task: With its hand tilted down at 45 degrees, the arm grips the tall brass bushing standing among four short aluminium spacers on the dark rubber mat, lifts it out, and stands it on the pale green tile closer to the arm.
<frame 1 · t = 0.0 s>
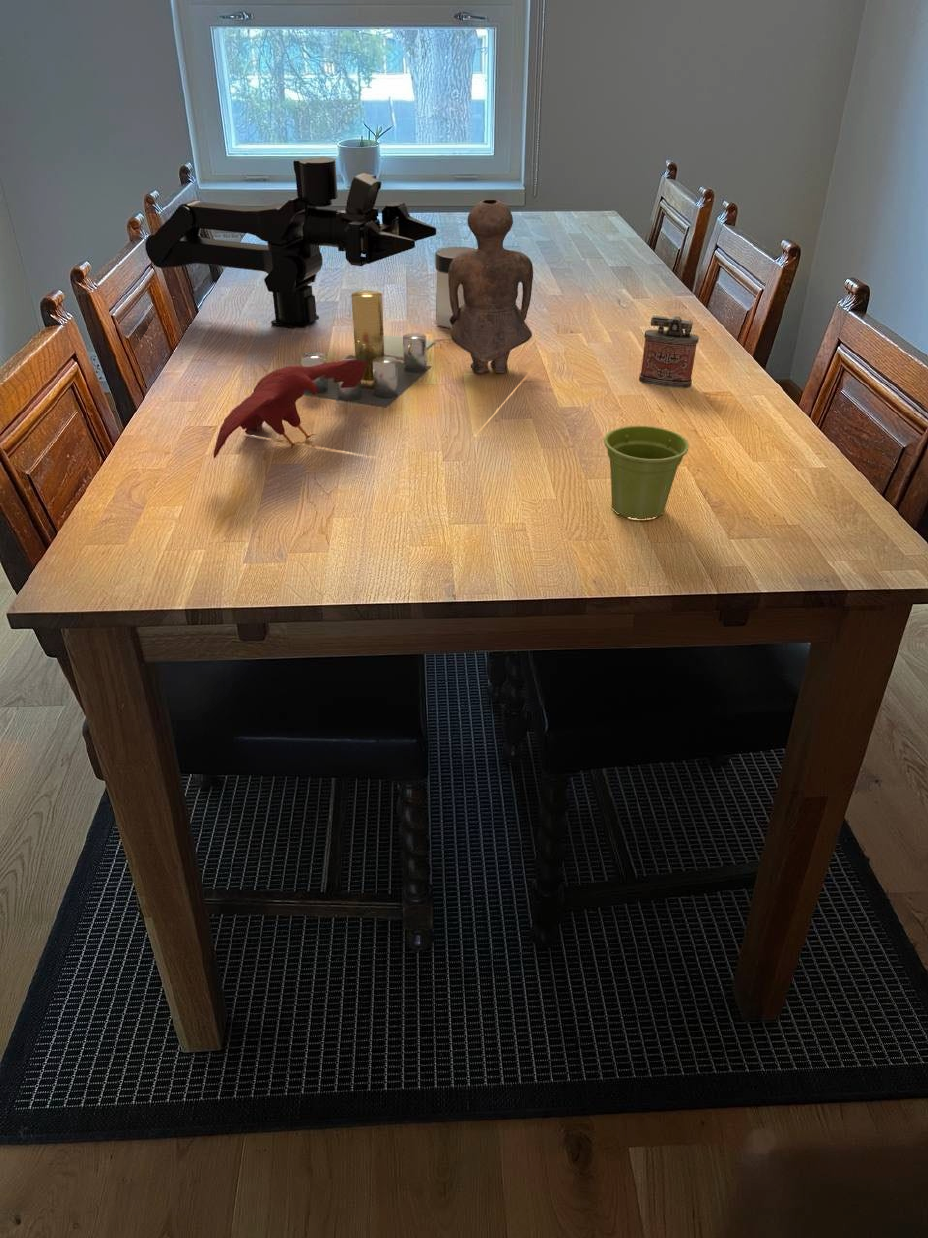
hand: (425, 237, 147), 17 cm above the table, tool horizontal, fingers open, 9 cm apart
mat: (367, 381, 140), on the table
tile: (399, 349, 152), on the table
jar: (458, 322, 165), on the table
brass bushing: (371, 381, 140), resting on mat
lighter: (664, 383, 141), on the table
clay figurine: (489, 371, 145), on the table
spacers: (366, 379, 140), resting on mat
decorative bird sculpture: (286, 442, 123), on the table
plant pot: (637, 511, 108), on the table
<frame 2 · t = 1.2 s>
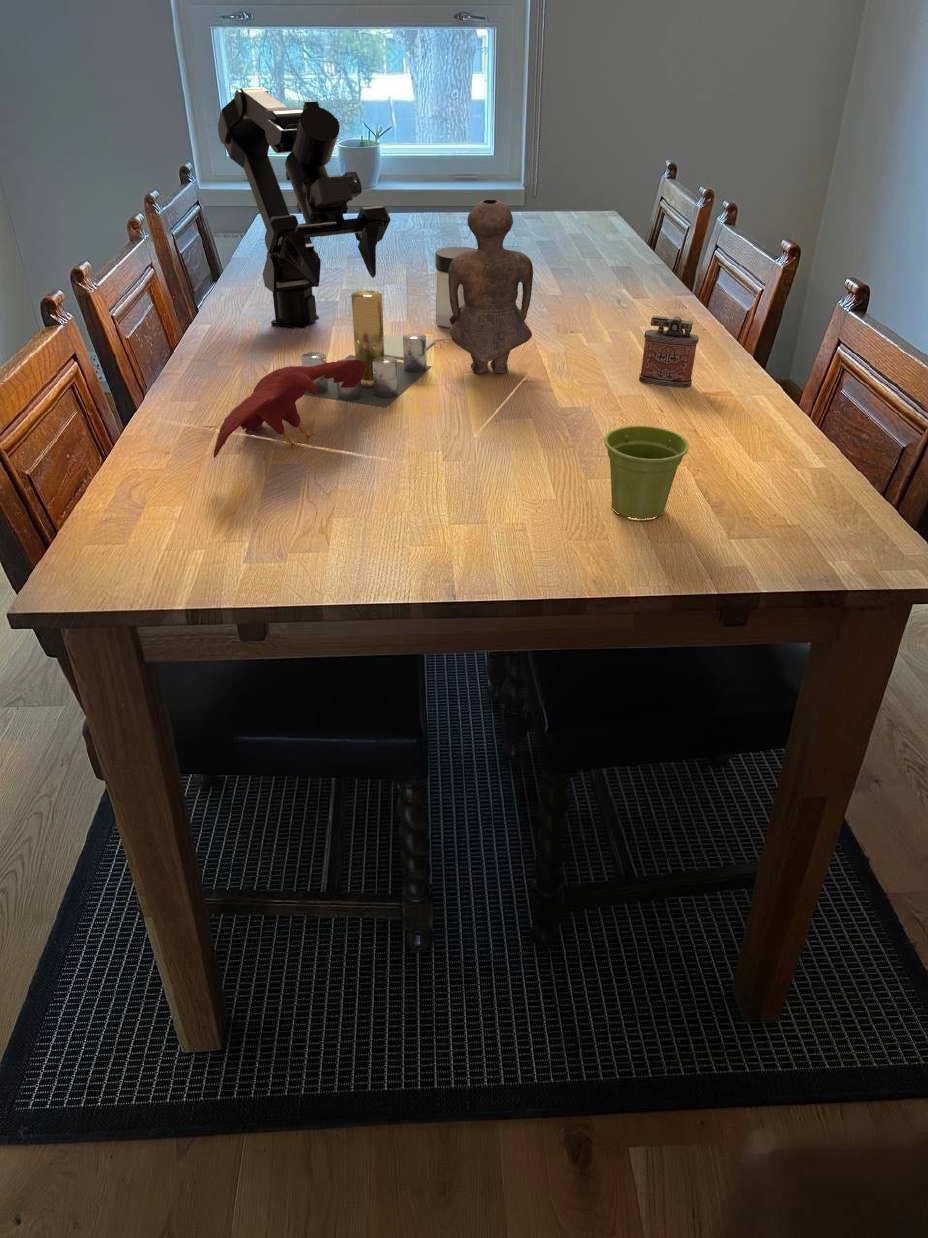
hand: (346, 279, 138), 13 cm above the table, tool tilted 45°, fingers open, 9 cm apart
nothing on the table moved.
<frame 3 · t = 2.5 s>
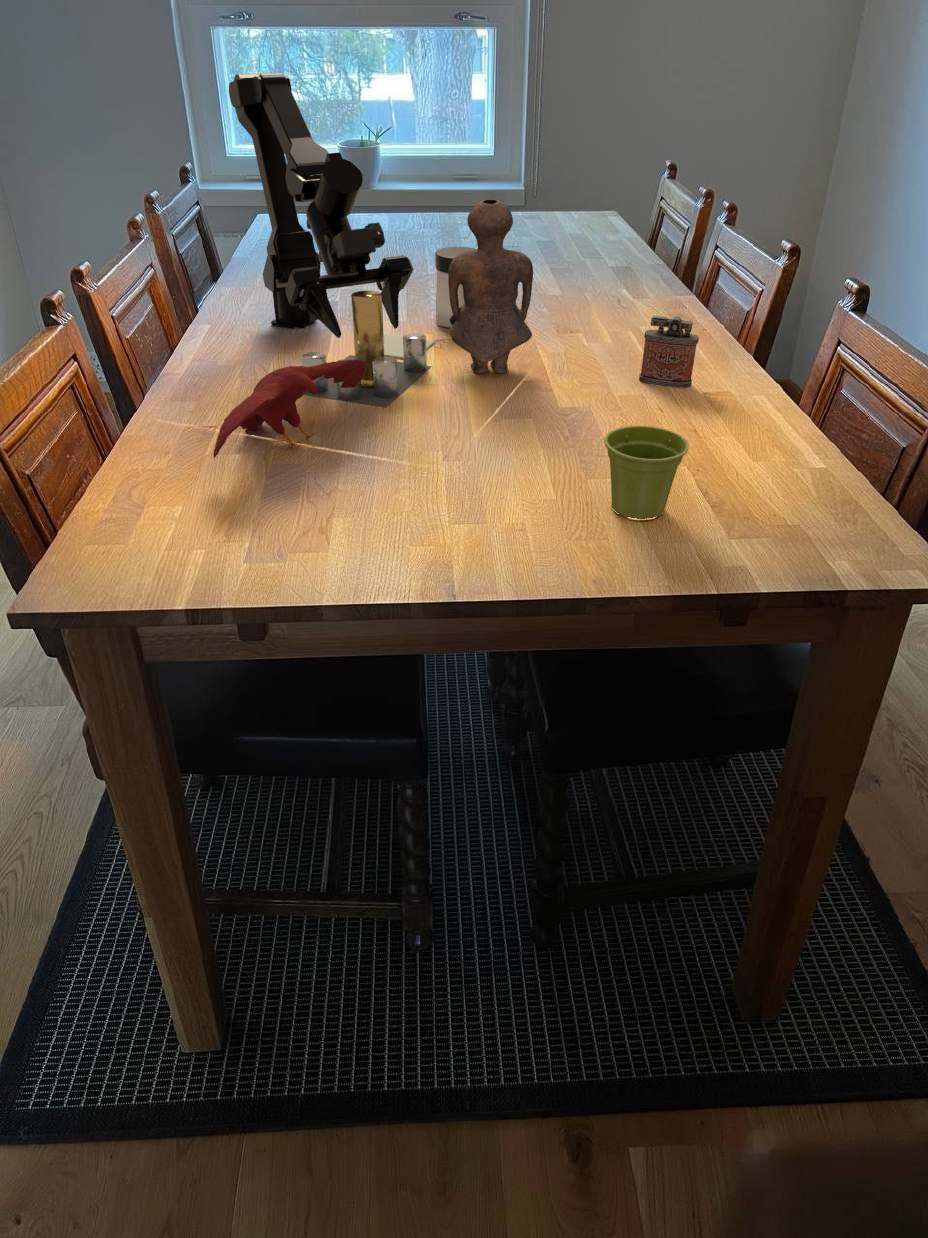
hand: (368, 331, 135), 8 cm above the table, tool tilted 45°, fingers open, 9 cm apart
nothing on the table moved.
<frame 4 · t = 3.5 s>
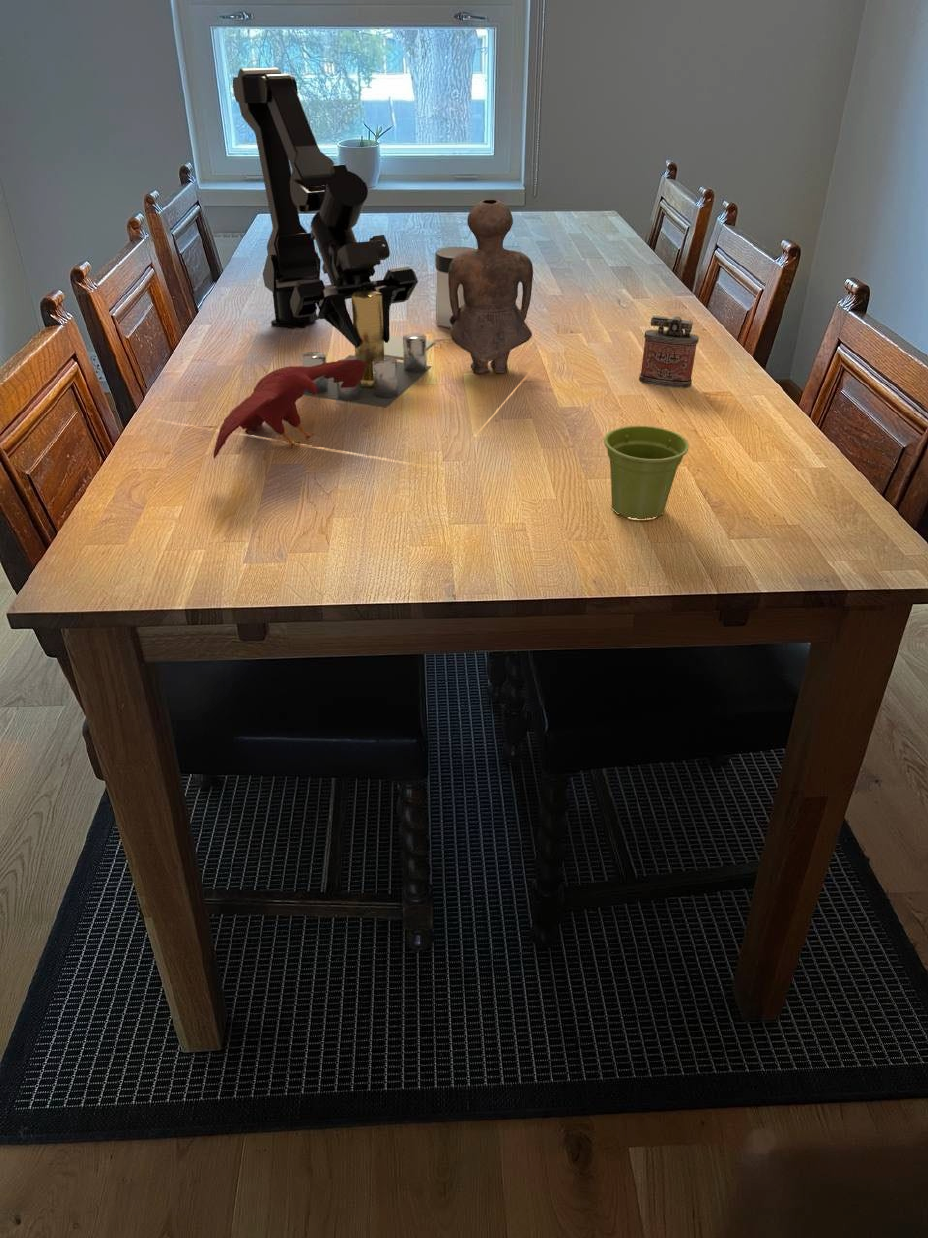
hand: (372, 343, 135), 7 cm above the table, tool tilted 45°, fingers closed on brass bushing, 4 cm apart
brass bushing: (371, 381, 140), resting on mat, touching gripper
everything else where it was.
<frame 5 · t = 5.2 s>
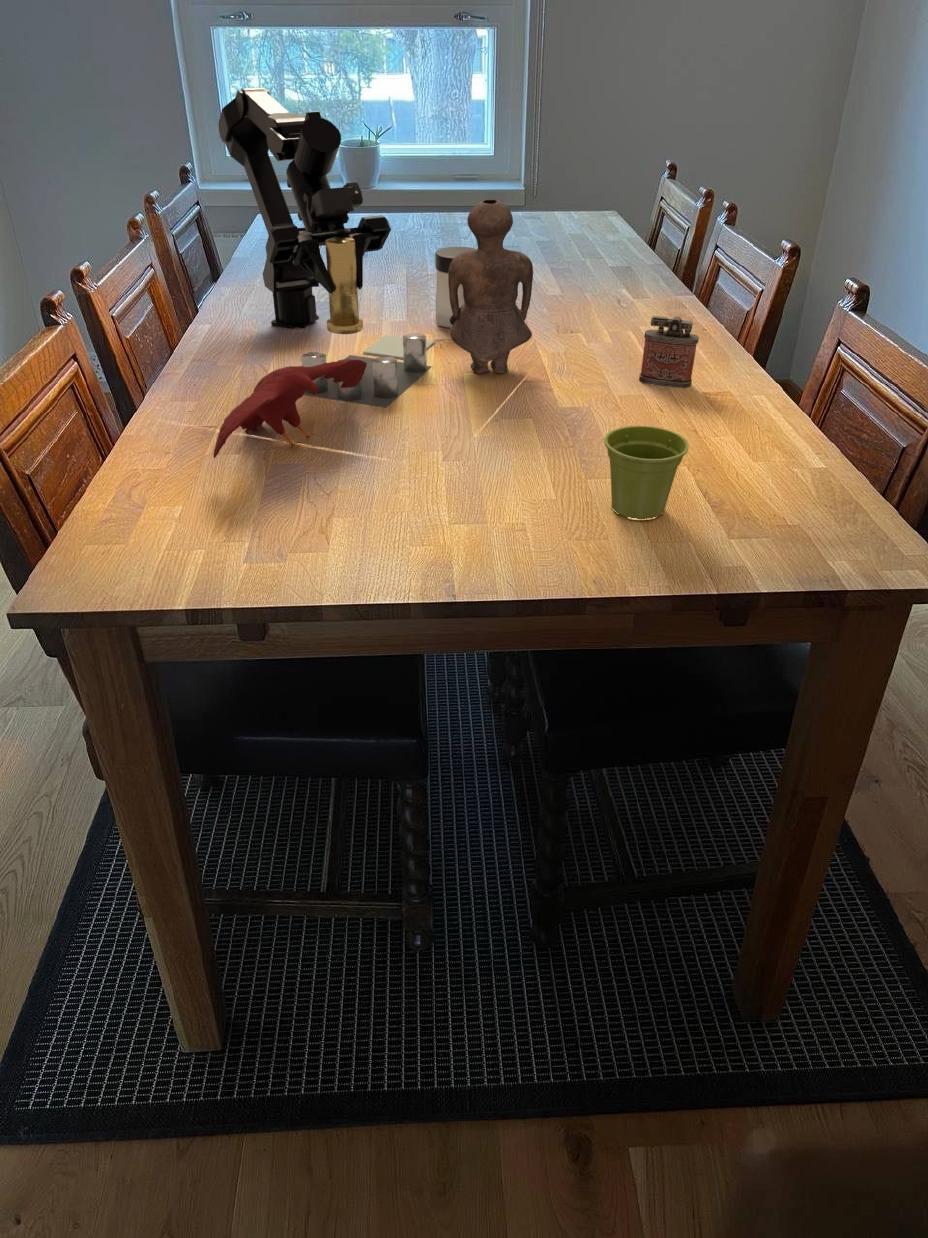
hand: (346, 289, 138), 12 cm above the table, tool tilted 45°, fingers closed on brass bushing, 4 cm apart
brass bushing: (345, 327, 143), point 6 cm above the table, touching gripper
everything else where it was.
when the fingers open (8 cm above the table, at t = 7.0 s): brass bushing drops 1 cm, resting on tile.
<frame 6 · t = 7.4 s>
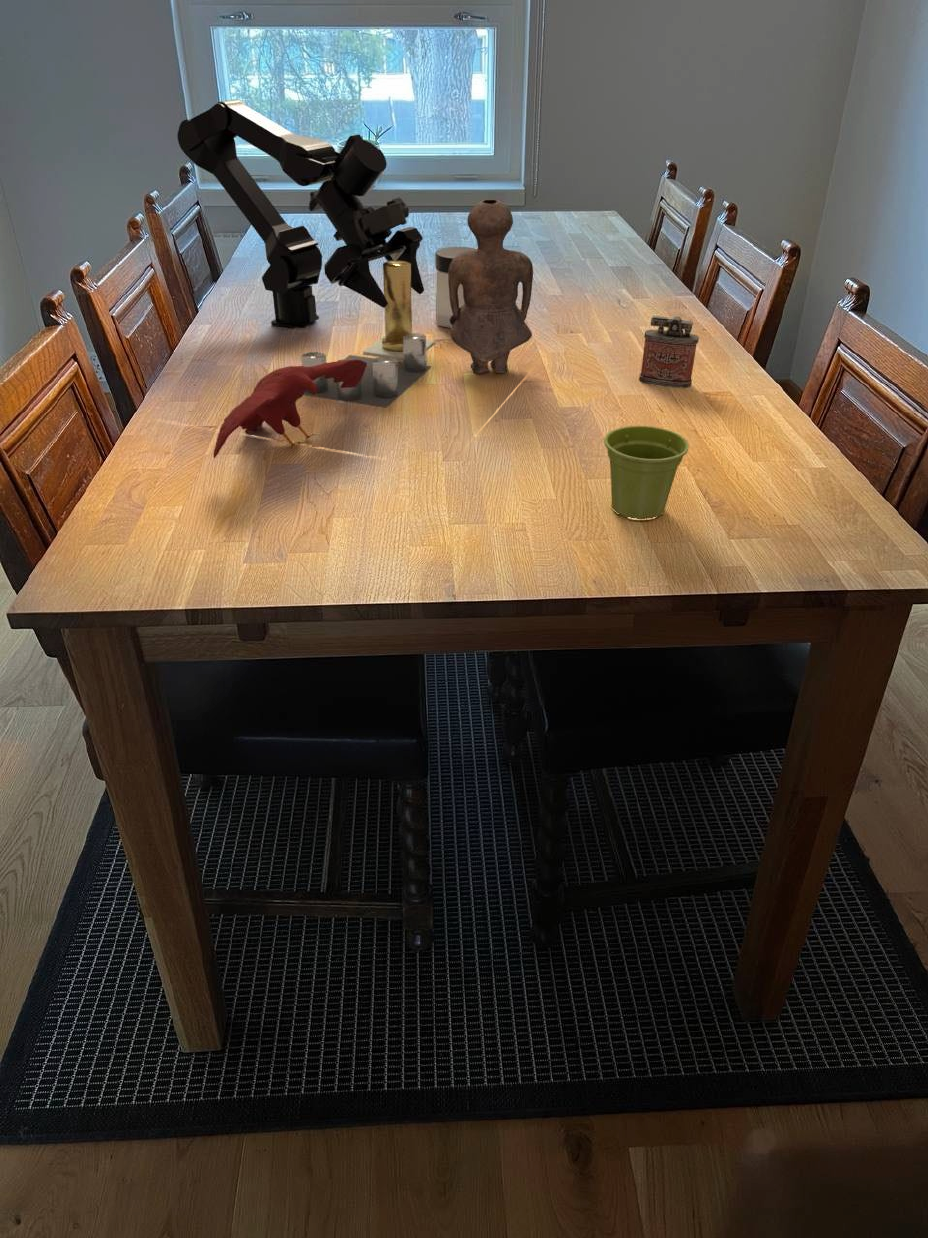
hand: (404, 298, 147), 9 cm above the table, tool tilted 45°, fingers open, 9 cm apart
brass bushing: (399, 345, 152), point 1 cm above the table, touching tile
everything else where it was.
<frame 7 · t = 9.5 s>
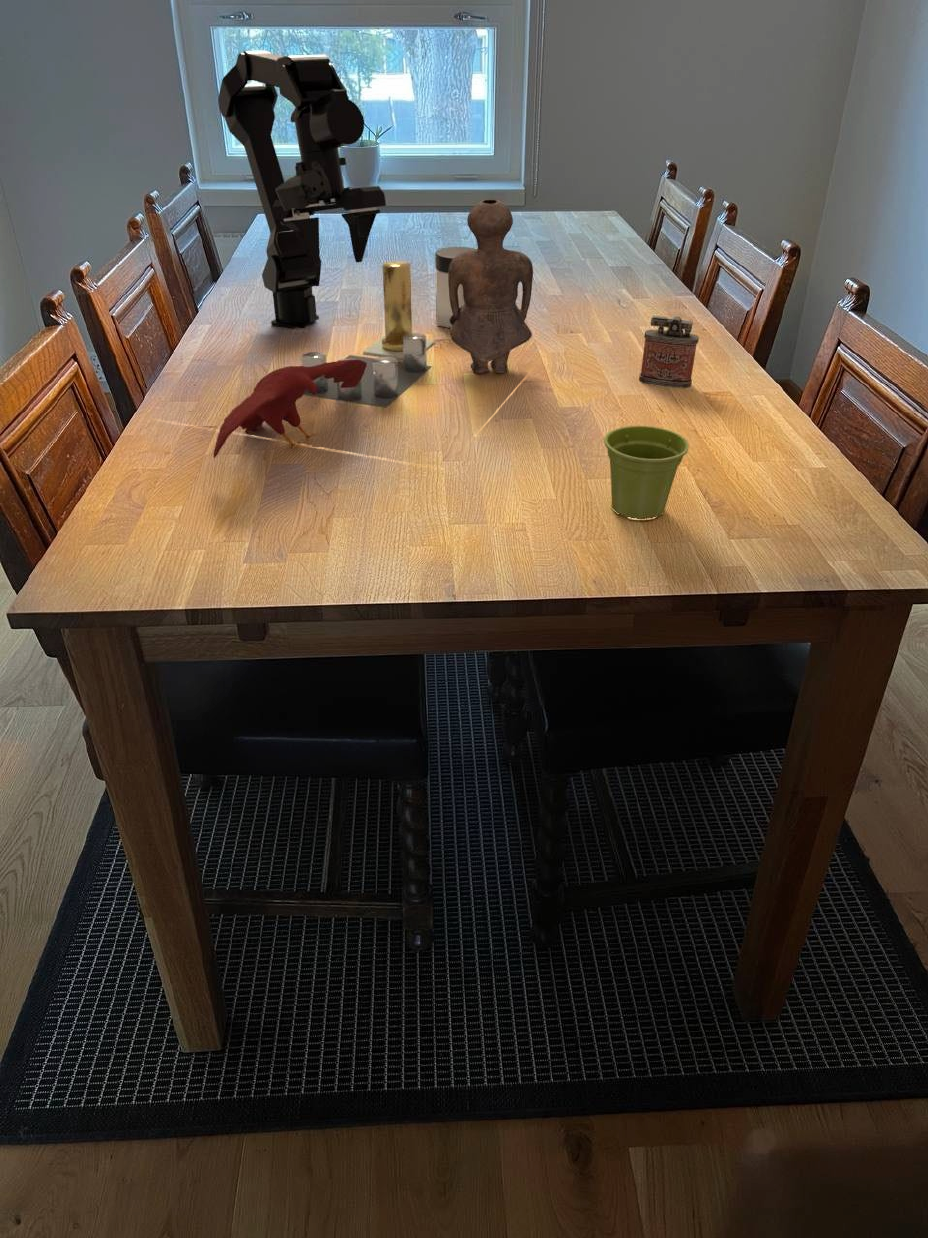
hand: (337, 263, 143), 14 cm above the table, tool pointing down, fingers open, 9 cm apart
nothing on the table moved.
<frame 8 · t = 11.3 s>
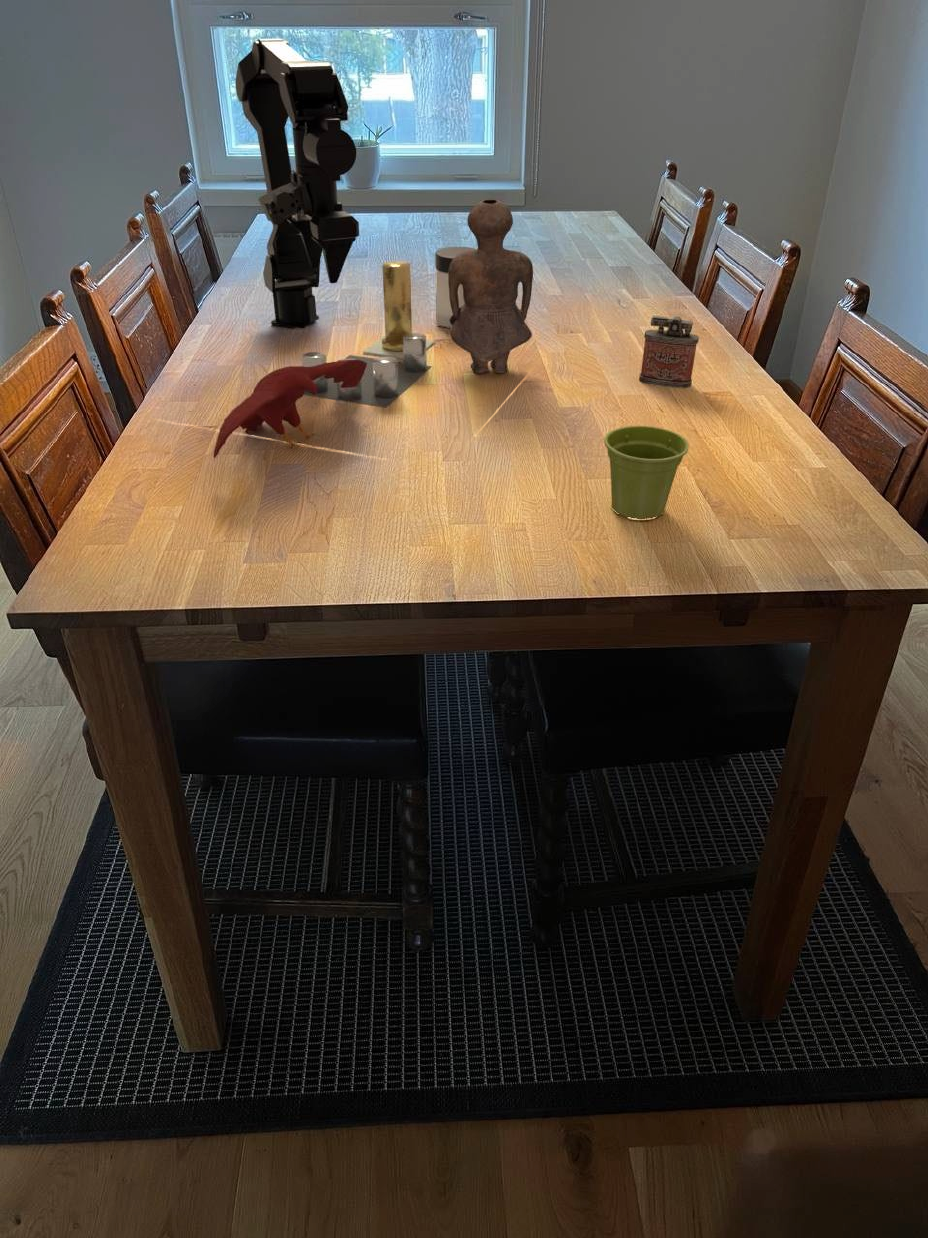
hand: (323, 275, 141), 13 cm above the table, tool pointing down, fingers open, 9 cm apart
nothing on the table moved.
at the end: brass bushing inside the target area on the tile (0.1 cm from its centre), point 0.6 cm above the tile's base; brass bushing tilted 0°; the gripper is holding nothing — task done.
